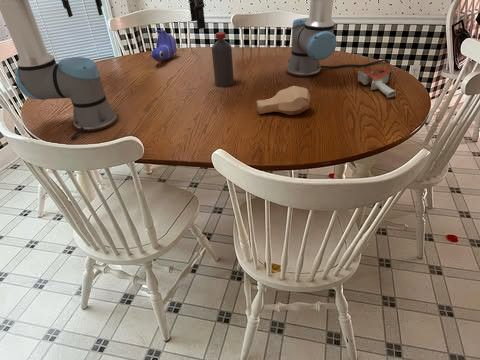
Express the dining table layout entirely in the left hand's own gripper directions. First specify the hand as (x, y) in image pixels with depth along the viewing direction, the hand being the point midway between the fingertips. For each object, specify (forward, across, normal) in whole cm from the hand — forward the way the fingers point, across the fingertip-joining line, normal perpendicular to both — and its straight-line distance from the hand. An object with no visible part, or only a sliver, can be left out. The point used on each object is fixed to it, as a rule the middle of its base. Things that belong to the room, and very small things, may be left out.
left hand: (85, 15), depth 157 cm
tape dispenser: (+28, -123, +28) cm, 130 cm away
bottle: (+28, -60, +15) cm, 68 cm away
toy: (+28, -26, -21) cm, 44 cm away
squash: (+28, -84, +47) cm, 100 cm away
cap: (+7, -60, +15) cm, 62 cm away
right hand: (0, -53, +28) cm, 60 cm away
